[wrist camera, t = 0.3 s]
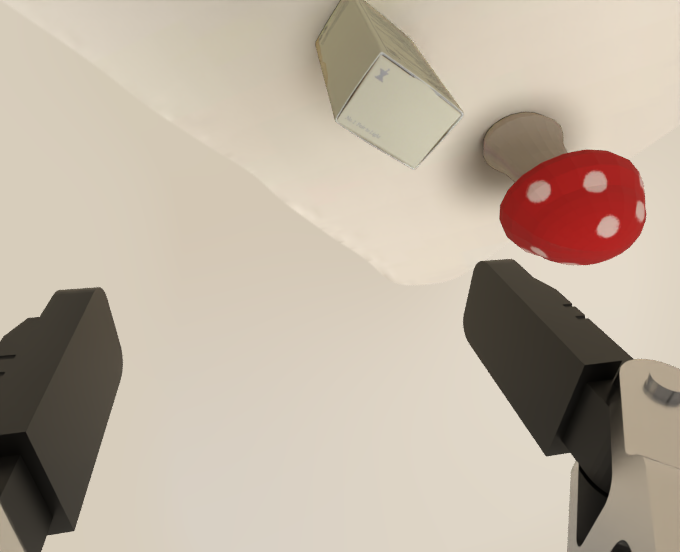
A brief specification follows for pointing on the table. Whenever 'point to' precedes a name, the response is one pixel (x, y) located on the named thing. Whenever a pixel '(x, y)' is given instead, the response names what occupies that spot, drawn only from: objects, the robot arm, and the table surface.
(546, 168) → the decorative mushroom
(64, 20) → the table surface
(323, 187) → the table surface
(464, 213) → the table surface
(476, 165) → the table surface
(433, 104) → the skincare box
